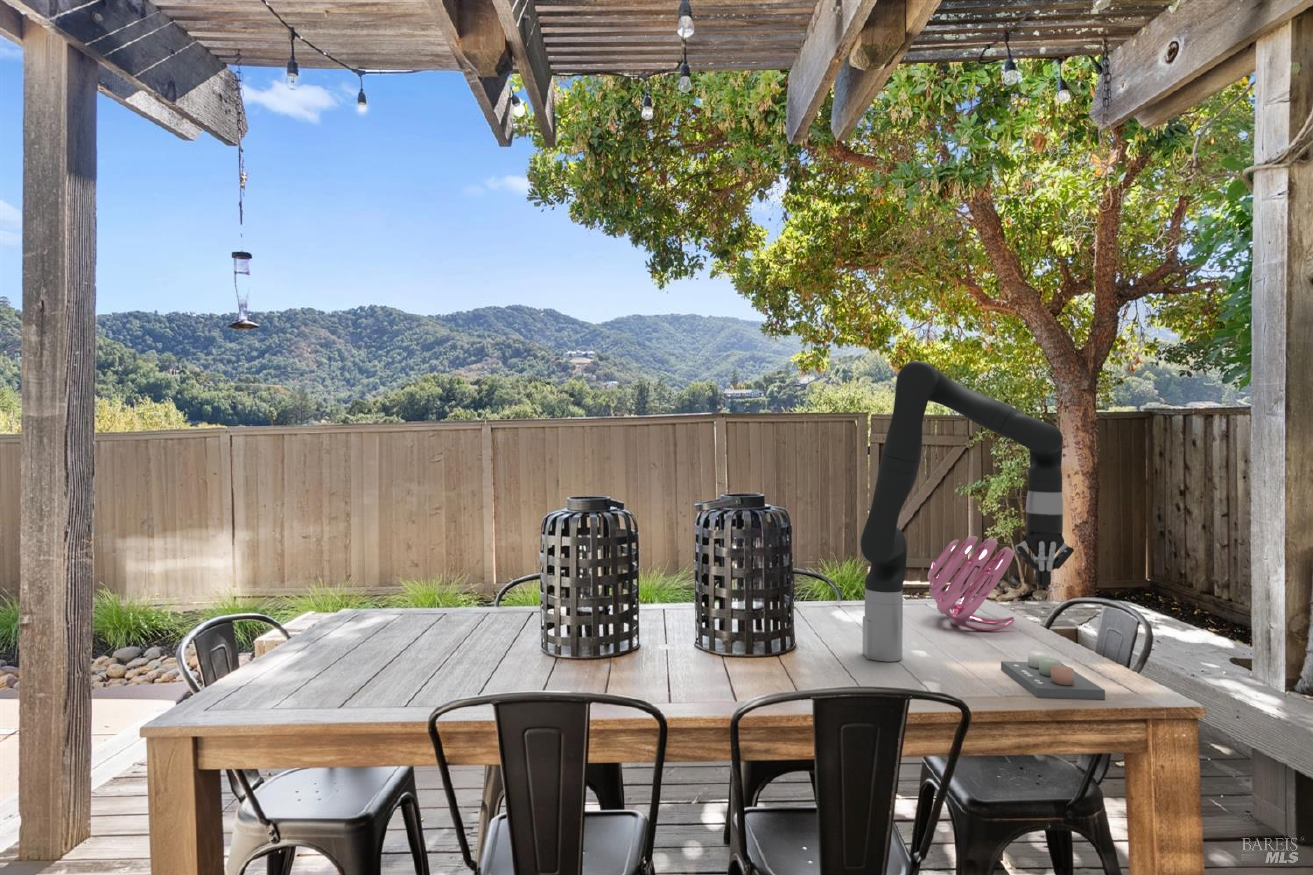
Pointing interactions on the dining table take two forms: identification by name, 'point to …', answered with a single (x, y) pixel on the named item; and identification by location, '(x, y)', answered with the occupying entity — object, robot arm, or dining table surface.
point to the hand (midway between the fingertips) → (1042, 586)
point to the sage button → (1047, 665)
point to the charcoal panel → (1051, 683)
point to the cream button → (1036, 657)
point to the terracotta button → (1062, 675)
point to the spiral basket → (968, 581)
